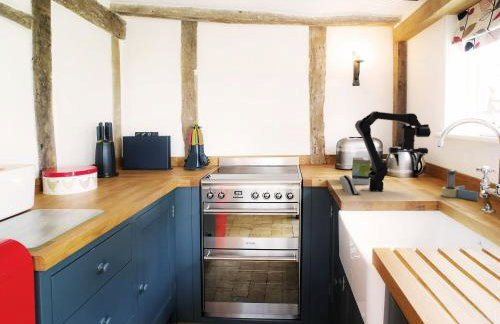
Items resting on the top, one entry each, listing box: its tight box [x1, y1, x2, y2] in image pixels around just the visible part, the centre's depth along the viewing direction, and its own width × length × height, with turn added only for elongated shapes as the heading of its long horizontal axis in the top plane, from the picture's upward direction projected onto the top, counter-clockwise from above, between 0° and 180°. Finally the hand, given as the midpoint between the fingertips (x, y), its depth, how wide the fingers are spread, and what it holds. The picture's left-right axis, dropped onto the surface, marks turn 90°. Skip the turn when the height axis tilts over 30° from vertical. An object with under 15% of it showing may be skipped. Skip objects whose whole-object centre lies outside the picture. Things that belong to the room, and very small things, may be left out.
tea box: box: [351, 156, 371, 186], centre depth 223 cm, size 15×10×15 cm, turn 165°
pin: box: [446, 169, 457, 189], centre depth 186 cm, size 4×4×13 cm
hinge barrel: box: [441, 184, 479, 202], centre depth 186 cm, size 13×19×4 cm
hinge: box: [339, 174, 361, 196], centre depth 195 cm, size 17×5×10 cm, turn 179°
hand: (407, 166), depth 198 cm, fingers open, 9 cm apart
